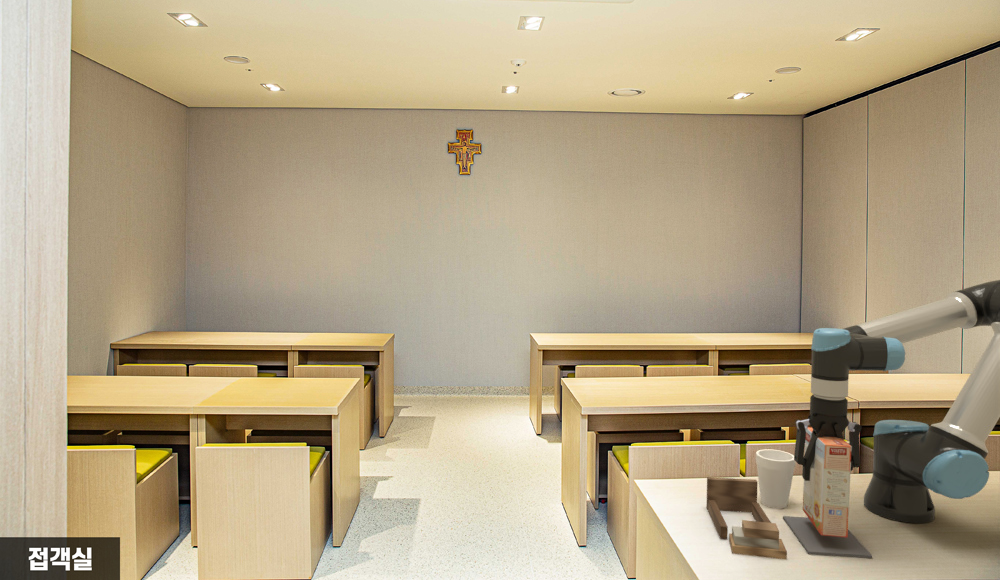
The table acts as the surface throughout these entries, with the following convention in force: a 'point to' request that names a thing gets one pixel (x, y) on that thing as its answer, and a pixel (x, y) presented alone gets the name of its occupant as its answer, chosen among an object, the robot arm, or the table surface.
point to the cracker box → (829, 486)
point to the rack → (732, 500)
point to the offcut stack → (757, 540)
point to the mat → (825, 540)
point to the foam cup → (775, 477)
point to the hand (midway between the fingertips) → (825, 494)
